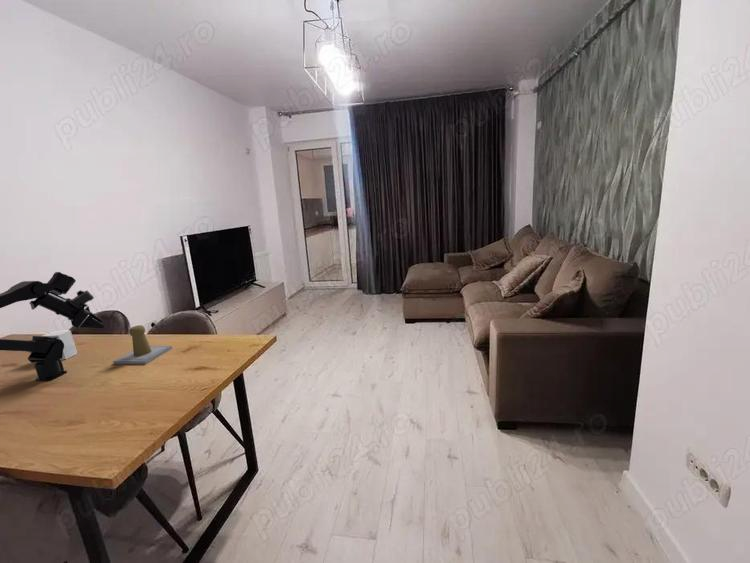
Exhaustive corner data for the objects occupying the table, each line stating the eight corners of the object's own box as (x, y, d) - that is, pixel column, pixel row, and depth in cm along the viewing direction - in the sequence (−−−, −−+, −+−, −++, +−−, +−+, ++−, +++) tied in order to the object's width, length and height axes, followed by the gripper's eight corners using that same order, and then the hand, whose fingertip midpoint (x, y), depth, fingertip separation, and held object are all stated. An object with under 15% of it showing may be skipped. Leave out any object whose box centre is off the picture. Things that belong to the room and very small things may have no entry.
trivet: (146, 364, 135) (145, 360, 135) (113, 364, 138) (112, 360, 138) (172, 348, 149) (171, 345, 149) (142, 348, 151) (141, 345, 151)
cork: (134, 352, 145) (128, 325, 142) (152, 348, 147) (146, 322, 144) (132, 357, 139) (125, 330, 137) (150, 353, 142) (144, 327, 139)
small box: (78, 353, 151) (71, 330, 149) (65, 359, 146) (58, 335, 143) (60, 354, 152) (53, 330, 150) (47, 360, 147) (40, 335, 144)
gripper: (74, 289, 128) (119, 311, 137) (73, 282, 142) (114, 302, 151) (51, 316, 125) (99, 337, 134) (52, 307, 139) (95, 326, 148)
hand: (102, 324), depth 142 cm, fingers open, 9 cm apart
